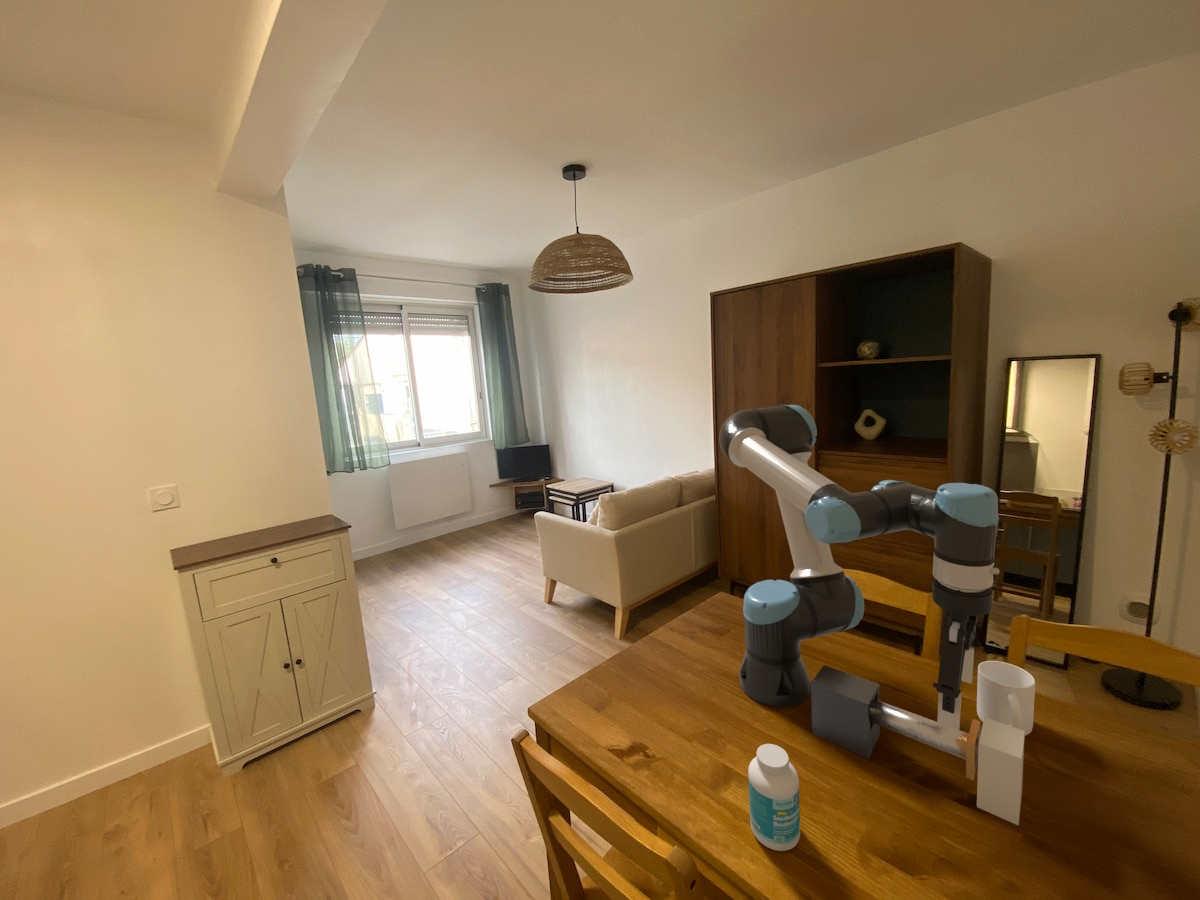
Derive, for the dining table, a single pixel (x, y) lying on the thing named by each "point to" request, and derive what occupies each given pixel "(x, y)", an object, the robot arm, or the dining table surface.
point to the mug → (1006, 695)
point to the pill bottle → (774, 798)
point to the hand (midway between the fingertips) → (955, 701)
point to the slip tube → (930, 732)
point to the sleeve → (844, 710)
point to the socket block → (1000, 770)
